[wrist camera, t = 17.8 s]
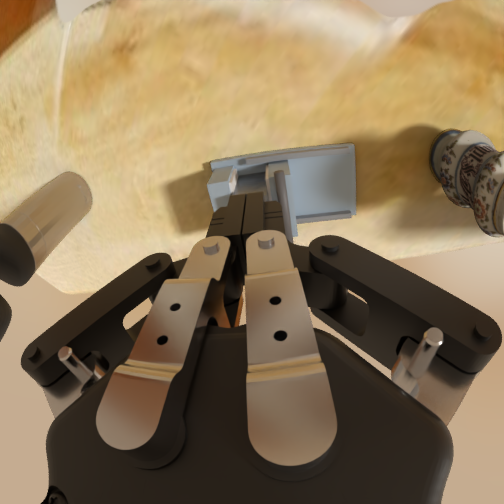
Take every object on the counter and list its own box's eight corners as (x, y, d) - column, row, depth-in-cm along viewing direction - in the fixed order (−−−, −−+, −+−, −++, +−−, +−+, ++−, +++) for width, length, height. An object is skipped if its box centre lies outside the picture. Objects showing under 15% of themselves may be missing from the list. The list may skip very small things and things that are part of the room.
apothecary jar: (476, 183, 35) (539, 241, 21) (425, 196, 38) (484, 265, 24) (474, 118, 29) (552, 158, 14) (418, 126, 32) (497, 170, 17)
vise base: (228, 225, 44) (221, 252, 38) (211, 160, 38) (200, 178, 32) (354, 211, 41) (367, 236, 35) (352, 143, 35) (368, 157, 29)
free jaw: (275, 220, 42) (276, 248, 36) (264, 157, 36) (263, 175, 30) (295, 218, 41) (299, 245, 35) (286, 154, 35) (290, 172, 30)
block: (246, 212, 41) (242, 243, 35) (238, 175, 38) (231, 199, 31) (273, 209, 41) (273, 239, 34) (267, 171, 37) (266, 195, 31)
